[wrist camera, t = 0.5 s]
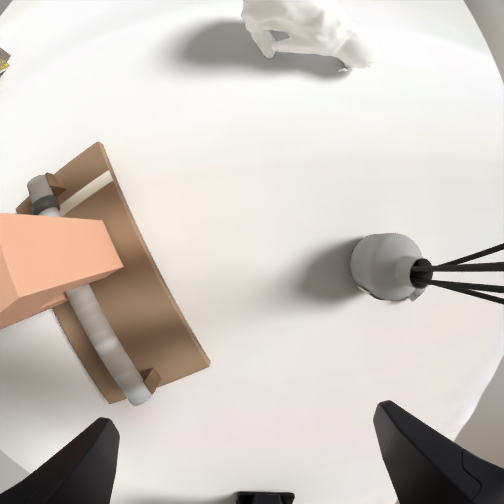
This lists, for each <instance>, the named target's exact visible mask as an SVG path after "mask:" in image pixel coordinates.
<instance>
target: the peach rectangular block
mask: <svg viewBox="0 0 504 504" xmlns="http://www.w3.org/2000/svg"><path fill="white" fill-rule="evenodd" d="M122 267H124V266H123V264H122V262H121V260H120V258H119V256H118V254H117V252H116V250H115V247H114V245H113V243H112V241H111V239H110V236H109V234H108V232H107V230H106V227H105V225H104V223H103V220H91V219H78V218H65V217H52V216H38V215H24V214H9V213H0V329H2V328H5V327H7V326H9V325H12V324H14V323H17V322H19V321H21V320H24V319H26V318H28V317H31V316H33V315H36V314H38V313H41V312H43V311H45V310H48V309H50V308H53V307H55V306H58V305H60V304H63V303H65V302H66V301H68V300H69V299H68V297H67V295H66V292H65V291H67V290H70V289H73V288H76V287H79V286H82V285H85V284H88V283H91V282H94V281H97V280H100V279H103V278H105V277H107V276H109V275H110V274H112V273H114V272H116V271H117V270H119V269H121V268H122Z"/></svg>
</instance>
